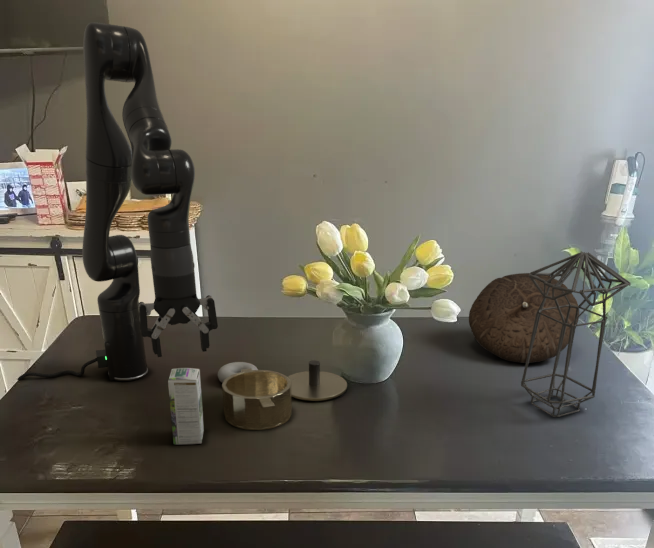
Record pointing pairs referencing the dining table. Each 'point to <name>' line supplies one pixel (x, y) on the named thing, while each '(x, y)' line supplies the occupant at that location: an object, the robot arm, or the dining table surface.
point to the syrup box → (186, 406)
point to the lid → (316, 384)
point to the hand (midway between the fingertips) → (181, 352)
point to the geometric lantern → (569, 267)
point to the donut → (233, 369)
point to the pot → (257, 399)
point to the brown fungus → (519, 318)
